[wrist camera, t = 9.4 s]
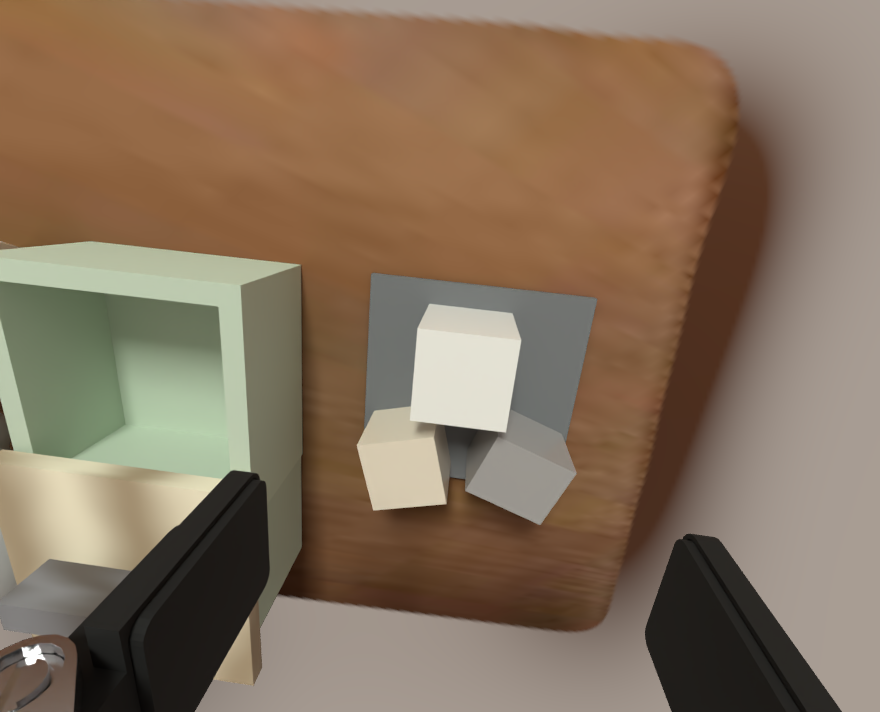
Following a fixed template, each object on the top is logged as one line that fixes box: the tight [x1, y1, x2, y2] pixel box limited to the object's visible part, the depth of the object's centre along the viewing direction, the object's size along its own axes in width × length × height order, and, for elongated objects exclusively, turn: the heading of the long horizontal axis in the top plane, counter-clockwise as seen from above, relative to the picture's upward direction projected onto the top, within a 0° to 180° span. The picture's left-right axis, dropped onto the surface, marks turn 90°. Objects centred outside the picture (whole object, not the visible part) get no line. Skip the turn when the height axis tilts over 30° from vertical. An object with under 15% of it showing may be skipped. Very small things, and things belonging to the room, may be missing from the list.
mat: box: [364, 273, 597, 479], centre depth 25 cm, size 12×12×1 cm
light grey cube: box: [465, 409, 577, 525], centre depth 24 cm, size 4×4×4 cm
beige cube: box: [357, 406, 451, 510], centre depth 25 cm, size 4×4×4 cm
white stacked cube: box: [410, 304, 521, 433], centre depth 22 cm, size 4×4×5 cm
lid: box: [0, 449, 262, 685], centre depth 21 cm, size 12×12×4 cm
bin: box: [0, 241, 303, 627], centre depth 24 cm, size 12×20×6 cm, turn 174°
